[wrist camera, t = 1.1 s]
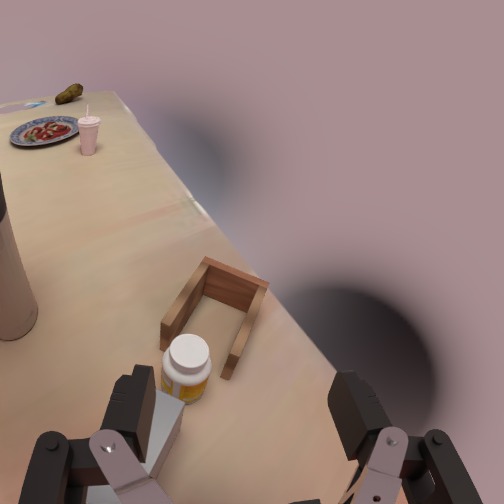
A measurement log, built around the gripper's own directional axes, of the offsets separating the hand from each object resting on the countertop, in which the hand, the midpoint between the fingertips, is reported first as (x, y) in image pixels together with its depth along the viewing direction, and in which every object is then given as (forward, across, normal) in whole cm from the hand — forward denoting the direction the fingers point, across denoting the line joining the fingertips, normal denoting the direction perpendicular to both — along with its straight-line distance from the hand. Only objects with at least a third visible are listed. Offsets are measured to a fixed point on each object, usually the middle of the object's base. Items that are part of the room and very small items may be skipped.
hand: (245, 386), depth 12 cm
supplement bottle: (+18, +5, +19) cm, 27 cm away
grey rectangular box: (+7, +9, +23) cm, 25 cm away
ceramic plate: (+81, +60, -10) cm, 101 cm away
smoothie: (+71, +38, -5) cm, 81 cm away
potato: (+115, +71, -25) cm, 137 cm away
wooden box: (+27, +1, +16) cm, 31 cm away
